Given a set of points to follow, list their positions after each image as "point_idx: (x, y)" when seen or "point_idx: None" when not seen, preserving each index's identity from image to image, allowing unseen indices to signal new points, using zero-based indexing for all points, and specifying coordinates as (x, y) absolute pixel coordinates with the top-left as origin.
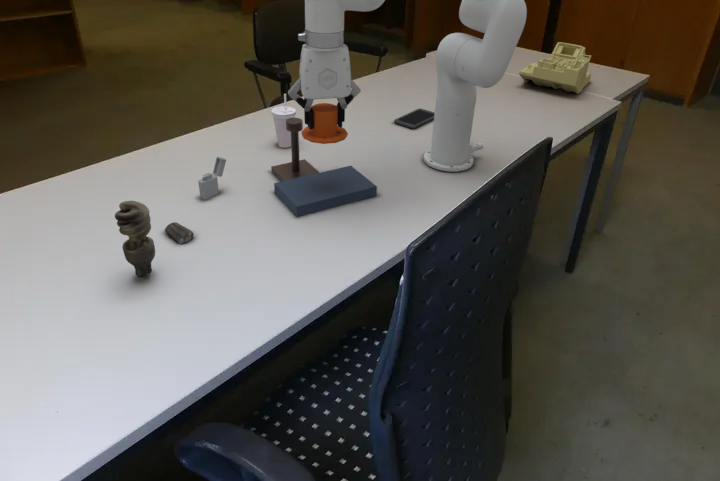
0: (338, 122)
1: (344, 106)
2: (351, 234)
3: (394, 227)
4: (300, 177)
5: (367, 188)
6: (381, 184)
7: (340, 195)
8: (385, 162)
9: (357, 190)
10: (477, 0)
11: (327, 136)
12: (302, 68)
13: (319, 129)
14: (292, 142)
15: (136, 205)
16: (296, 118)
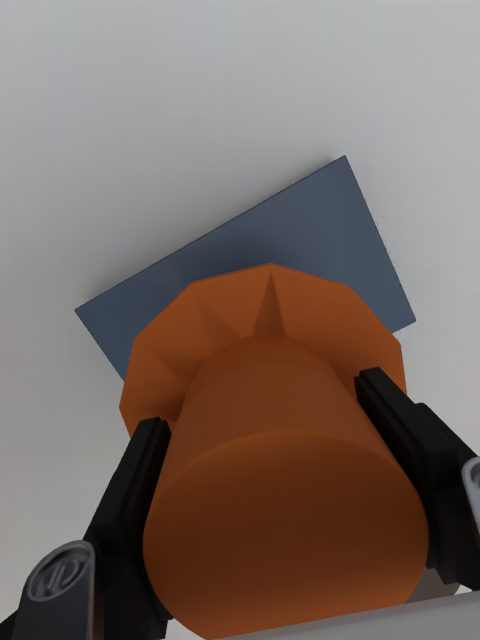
0: (164, 447)
1: (59, 572)
2: (155, 42)
3: (14, 94)
4: None
5: (104, 293)
6: (77, 372)
7: (194, 241)
8: (74, 499)
9: (137, 277)
10: None
11: (245, 339)
12: None
13: (307, 360)
14: None
15: None
16: (406, 603)
